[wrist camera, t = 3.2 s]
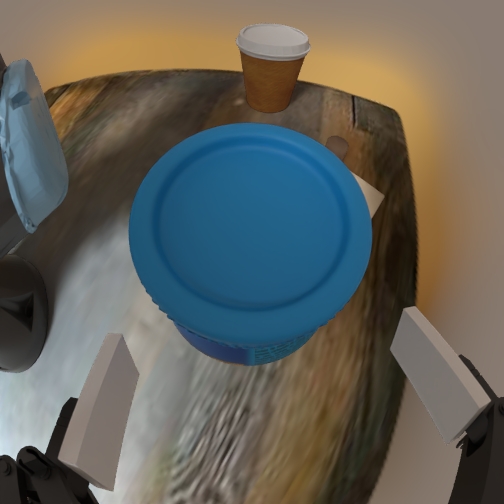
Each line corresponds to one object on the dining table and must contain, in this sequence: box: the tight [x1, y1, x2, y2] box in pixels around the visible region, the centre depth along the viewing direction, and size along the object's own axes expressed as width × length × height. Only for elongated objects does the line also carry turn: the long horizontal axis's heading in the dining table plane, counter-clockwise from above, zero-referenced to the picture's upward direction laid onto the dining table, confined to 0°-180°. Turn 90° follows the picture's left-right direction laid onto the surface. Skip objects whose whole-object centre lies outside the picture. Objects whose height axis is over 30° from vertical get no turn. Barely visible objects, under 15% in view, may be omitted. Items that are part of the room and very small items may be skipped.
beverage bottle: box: [129, 123, 372, 366], centre depth 16 cm, size 8×8×20 cm
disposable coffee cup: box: [236, 23, 311, 113], centre depth 31 cm, size 10×10×12 cm
